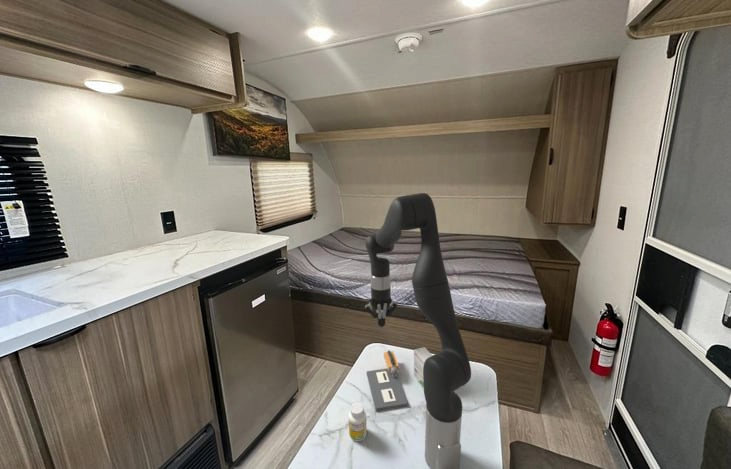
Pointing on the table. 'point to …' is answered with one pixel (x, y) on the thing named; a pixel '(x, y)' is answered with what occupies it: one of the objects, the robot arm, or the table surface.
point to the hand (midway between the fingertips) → (381, 325)
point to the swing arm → (391, 362)
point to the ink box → (420, 363)
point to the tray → (385, 390)
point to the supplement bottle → (357, 422)
